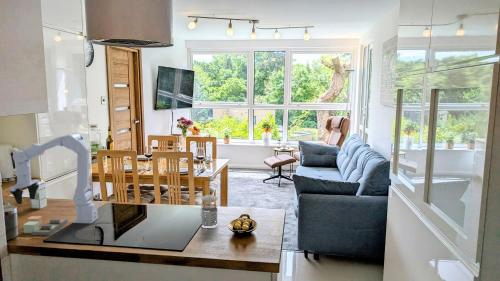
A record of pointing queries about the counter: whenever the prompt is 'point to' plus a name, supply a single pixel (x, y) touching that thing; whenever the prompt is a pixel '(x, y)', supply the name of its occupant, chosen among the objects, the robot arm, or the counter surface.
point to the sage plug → (31, 227)
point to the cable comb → (50, 227)
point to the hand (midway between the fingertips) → (26, 201)
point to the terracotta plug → (35, 219)
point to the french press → (209, 209)
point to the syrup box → (39, 196)
